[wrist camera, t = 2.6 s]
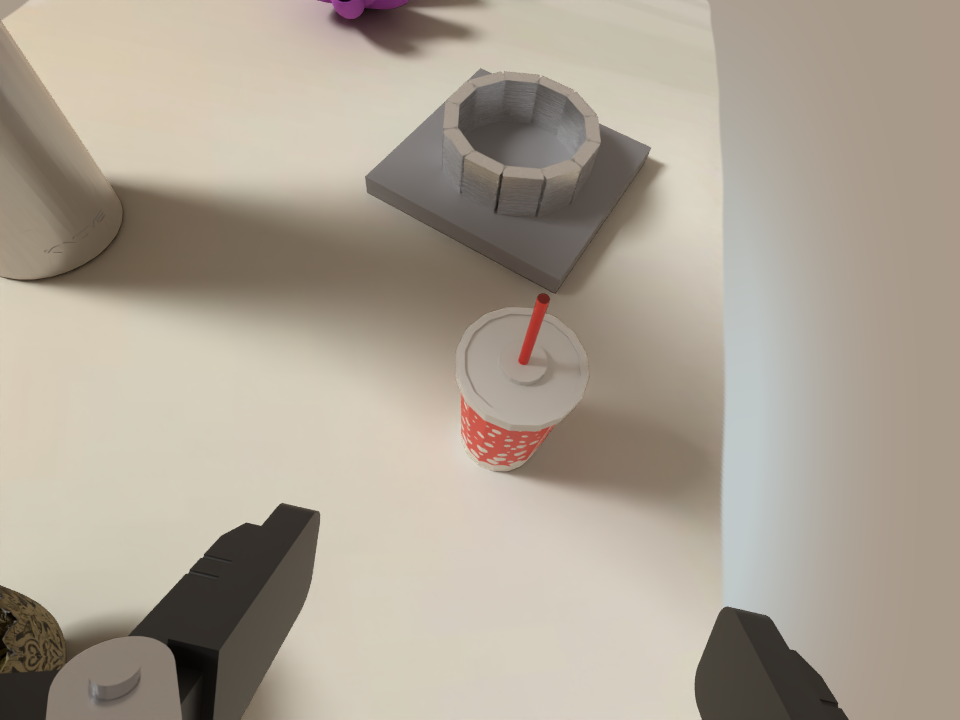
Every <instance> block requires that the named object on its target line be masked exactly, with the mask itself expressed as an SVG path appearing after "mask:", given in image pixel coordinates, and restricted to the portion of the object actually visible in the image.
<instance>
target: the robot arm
mask: <svg viewBox="0 0 960 720" xmlns="http://www.w3.org/2000/svg"><path fill="white" fill-rule="evenodd" d="M122 216H123V211H122V205H121V202H120V200H119V198H118V196H117V194H116V193H115V191H114V190H113V188H112V187H111V185H110V184H109V182H108V181H107V179H106V178H105V176H104V175H103V173H102V172H101V170H100V169H99V167H98V166H97V164H96V163H95V161H94V160H93V158H92V157H91V155H90V154H89V152H88V150H87V149H86V147H85V146H84V144H83V143H82V141H81V140H80V138H79V137H78V135H77V134H76V132H75V131H74V129H73V128H72V126H71V125H70V123H69V122H68V120H67V119H66V117H65V116H64V114H63V113H62V111H61V110H60V108H59V107H58V105H57V104H56V102H55V101H54V99H53V98H52V96H51V95H50V93H49V92H48V90H47V89H46V87H45V86H44V84H43V83H42V81H41V80H40V78H39V77H38V75H37V74H36V72H35V71H34V69H33V68H32V66H31V65H30V63H29V62H28V60H27V59H26V57H25V56H24V54H23V53H22V51H21V50H20V48H19V47H18V45H17V44H16V42H15V41H14V39H13V38H12V36H11V35H10V33H9V32H8V30H7V29H6V27H5V26H4V24H3V23H2V21H1V20H0V276H2V277H6V278H12V279H40V278H46V277H52V276H55V275H59V274H62V273H65V272H68V271H71V270H73V269H75V268H77V267H79V266H81V265H84V264H85V263H87V262H88V261H90V260H91V259H93V258H94V257H96V256H97V255H99V254H100V253H101V252H102V251H103V250H104V249H105V248H106V247H107V246H108V245H109V244H110V243H111V241H112V240H113V239H114V237H115V236H116V235H117V233H118V230H119V228H120V226H121V223H122ZM319 525H320V513H319V511H315V510H310V509H306V508H301V507H297V506H293V505H288V504H284V503H281V504H280V505H279V506H278V507H277V508H276V509H275V510H274V511H273V513H272V514H271V515H270V516H269V517H268V519H267V520H266V521H265V522H264V523H263V525H262V526H259V525H254V524H250V523H245V524H243V525H241V526H239V527H237V528H235V529H233V530H231V531H230V532H228V533H226V534H224V535H222V536H221V537H220V538H219V539H218V540H217V541H216V542H215V543H214V544H213V545H212V546H211V547H210V549H209V550H208V551H207V552H206V553H205V554H204V557H203V558H200V559H199V560H198V561H197V563H196V564H195V565H194V566H193V567H192V568H191V569H190V571H189V573H188V574H185V575H184V576H183V578H182V579H181V580H180V581H179V582H178V583H177V584H176V585H175V586H174V587H173V588H172V589H171V590H170V592H169V593H168V594H167V595H166V596H165V597H164V598H163V599H162V600H161V601H160V602H159V603H158V604H157V606H156V607H155V608H154V609H153V610H152V611H151V612H150V613H149V614H148V615H147V616H146V617H145V618H144V620H143V621H142V622H141V623H140V624H139V625H138V626H137V627H136V628H135V629H134V630H133V631H132V632H131V633H130V635H129V636H127V637H120V638H114V639H111V640H107V641H104V642H101V643H99V644H96V645H94V646H92V647H90V648H88V649H86V650H84V651H83V652H81V653H80V654H78V655H76V656H75V657H74V658H72V659H71V660H70V661H69V662H68V663H66V665H65V666H64V667H63V668H62V669H58V670H50V671H36V672H17V673H0V720H240V719H241V717H242V715H243V713H244V712H245V710H246V708H247V706H248V704H249V703H250V701H251V699H252V697H253V695H254V694H255V692H256V690H257V688H258V686H259V685H260V683H261V681H262V679H263V678H264V676H265V674H266V672H267V670H268V669H269V667H270V665H271V663H272V661H273V660H274V658H275V656H276V654H277V652H278V651H279V649H280V647H281V645H282V644H283V642H284V640H285V638H286V636H287V635H288V633H289V631H290V629H291V627H292V626H293V624H294V622H295V620H296V618H297V617H298V615H299V613H300V611H301V609H302V607H303V605H304V602H305V600H306V597H307V594H308V591H309V588H310V584H311V580H312V574H313V567H314V560H315V553H316V546H317V539H318V532H319ZM695 698H696V703H697V706H698V709H699V712H700V715H701V718H702V720H848V718H847V716H846V715H845V713H844V712H843V710H842V709H840V708H838V702H837V701H836V699H835V697H834V696H833V694H832V693H831V691H830V690H829V688H828V686H827V685H826V683H825V682H824V680H823V678H822V677H821V676H820V675H819V674H818V673H817V672H816V671H815V670H814V669H813V668H812V667H811V666H810V665H809V664H808V663H807V662H806V661H805V660H804V659H803V658H802V657H801V656H800V655H799V654H798V653H797V652H796V651H794V650H790V649H789V647H788V646H787V644H786V643H785V641H784V639H783V637H782V636H781V634H780V633H779V631H778V629H777V627H776V626H775V624H774V622H773V621H772V620H771V619H770V618H769V617H768V616H766V615H762V614H757V613H753V612H749V611H745V610H740V609H736V608H731V607H725V608H723V609H722V610H721V611H720V613H719V615H718V617H717V620H716V622H715V625H714V627H713V630H712V632H711V635H710V637H709V640H708V642H707V645H706V647H705V650H704V652H703V655H702V657H701V660H700V662H699V665H698V667H697V671H696V676H695Z"/></svg>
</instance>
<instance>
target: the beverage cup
mask: <svg viewBox="0 0 960 720" xmlns="http://www.w3.org/2000/svg"><path fill="white" fill-rule="evenodd" d="M549 301H550V297H549V296H548V295H547V294H544V293H542V294H539V295H538V297H537V300H536V303H535V307H534V308H523V307H505V308H502V309H499V310H496V311H492V312H489V313H486V314H484V315H483V316H481V317H480V318H479V319H478V320H476V321H475V322H474V323H473V324H471V325H470V326H469V327H468V328H467V329H466V331H465V333H464V335H463V337H462V338H461V340H460V342H459V344H458V346H457V348H456V382H457V384H458V386H459V389H460V391H461V440H462V443H463V445H464V448H465V450H466V452H467V454H468V455H469V456H470V457H471V458H472V459H473V460H474V461H475V462H476V463H477V464H478V465H480V466H482V467H484V468H487V469H489V470H491V471H510V470H513V469H515V468H518V467H520V466H522V465H523V464H524V463H525V462H526V461H527V460H528V459H529V458H530V457H531V456H532V455H533V454H534V453H535V451H536V450H537V449H538V447H539V446H540V445H541V443H542V442H543V441H544V440H545V438H546V437H547V436H548V434H549V433H550V432H551V430H552V429H553V428H554V426H555V425H556V424H558V423H560V422H561V421H562V420H563V419H564V418H565V417H566V416H567V415H568V414H569V413H570V412H571V411H572V410H573V409H574V408H575V407H576V406H577V404H578V403H579V402H580V401H581V399H582V397H583V394H584V391H585V388H586V385H587V382H588V379H589V369H588V360H587V353H586V352H585V350H584V348H583V346H582V344H581V343H580V341H579V339H578V337H577V336H576V334H575V333H574V332H573V331H572V330H571V329H570V328H568V327H567V326H566V325H565V324H564V323H563V322H561V321H560V320H559V319H558V318H557V317H555V316H552V315H549V314H547V313H546V310H547V307H548V304H549Z"/></svg>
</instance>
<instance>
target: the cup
mask: <svg viewBox="0 0 960 720" xmlns="http://www.w3.org/2000/svg"><path fill="white" fill-rule="evenodd" d="M65 665H66V647H65V640H64V637H63V634H62V631H61V629H60V627H59V625H58V623H57V621H56V620H55V618H54V617H53V616H52V615H51V614H50V612H48V611H47V610H46V609H45V608H44V607H43V606H41V605H40V604H39V603H37V602H35V601H34V600H32V599H30V598H29V597H27V596H25V595H23V594H20V593H18V592H16V591H13V590H11V589H8V588H6V587H3V586H1V585H0V673H17V672H36V671H50V670H58V669H62V668H63V667H64V666H65Z"/></svg>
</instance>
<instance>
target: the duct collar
mask: <svg viewBox="0 0 960 720" xmlns="http://www.w3.org/2000/svg"><path fill="white" fill-rule="evenodd" d="M596 115H597V114H596V113H595V112H594V111H593V110H592V108H591V107H590V106H589V105H588V104H587V103H586V102H585V101H584V100H583V98H582V97H581V96H580V95H579V94H578V93H577V92H574V90H573V89H571V88H568V87H566V86H564V85H562V84H560V83H557V82H555V81H553V80H551V79H549V78H547V77H544V76H542V77H541V78H540V75H536V74H526V73H516V72H505V71H504V74H502V72H497V73H493V74H490V75H486V76H482V77H478V78H474V79H471V80H469V82H467V81H466V82H465V83H464V84H463V85H462V86H461V87H460V88H459V89H458V90H457V91H456V92H455V93H453V94H452V95H451V96H450V97H449V98H448V99H447V100H446V102H445V113H444V124H443V149H442V168H443V171H444V173H445V174H446V176H447V177H448V179H449V180H450V182H451V183H452V185H453V186H454V188H455V189H456V191H457V192H458V193H459V195H460V194H462V197H463V198H465V199H467V200H469V201H471V202H473V203H475V204H477V205H479V206H481V207H482V208H484V209H486V210H488V211H490V212H492V213H494V212H495V211H496V210H497V214H500V215H512V216H524V217H535V214H536V215H537V217H539V216H542V215H545V214H547V213H550V212H553V211H556V210H558V209H561V208H564V207H567V206H569V204H572V202H573V201H574V200H575V198H576V197H577V196H578V194H579V193H580V192H581V190H582V189H583V188H584V186H585V185H586V184H587V182H588V179H589V176H590V173H591V170H592V167H593V164H594V161H595V158H596V155H597V152H598V150H599V147H600V143H601V139H600V130H599V122H598V116H596ZM497 121H511V122H521V123H531V124H533V125H535V126H537V127H539V128H541V129H543V130H545V131H547V132H549V133H551V134H554V135H556V136H557V137H558V138H559V140H560V141H561V142H562V143H563V144H564V146H565V147H566V148H567V149H568V150H569V152H570V153H571V154H572V155H573V157H572V159H569V160H566V161H563V162H560V163H557V164H554V165H551V166H548V167H545V168H542V169H538V168H526V167H515V166H505V165H503V164H501V163H499V162H497V161H495V160H493V159H491V158H489V157H487V156H485V155H483V154H481V153H479V152H477V151H475V150H474V149H473V148H472V146H471V145H470V144H469V142H468V141H467V139H466V138H465V137H466V136H467V135H468V133H469V132H470V131H471V130H472V129H473V128H476V127H480V126H483V125H487V124H490V123H493V122H497Z"/></svg>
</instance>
